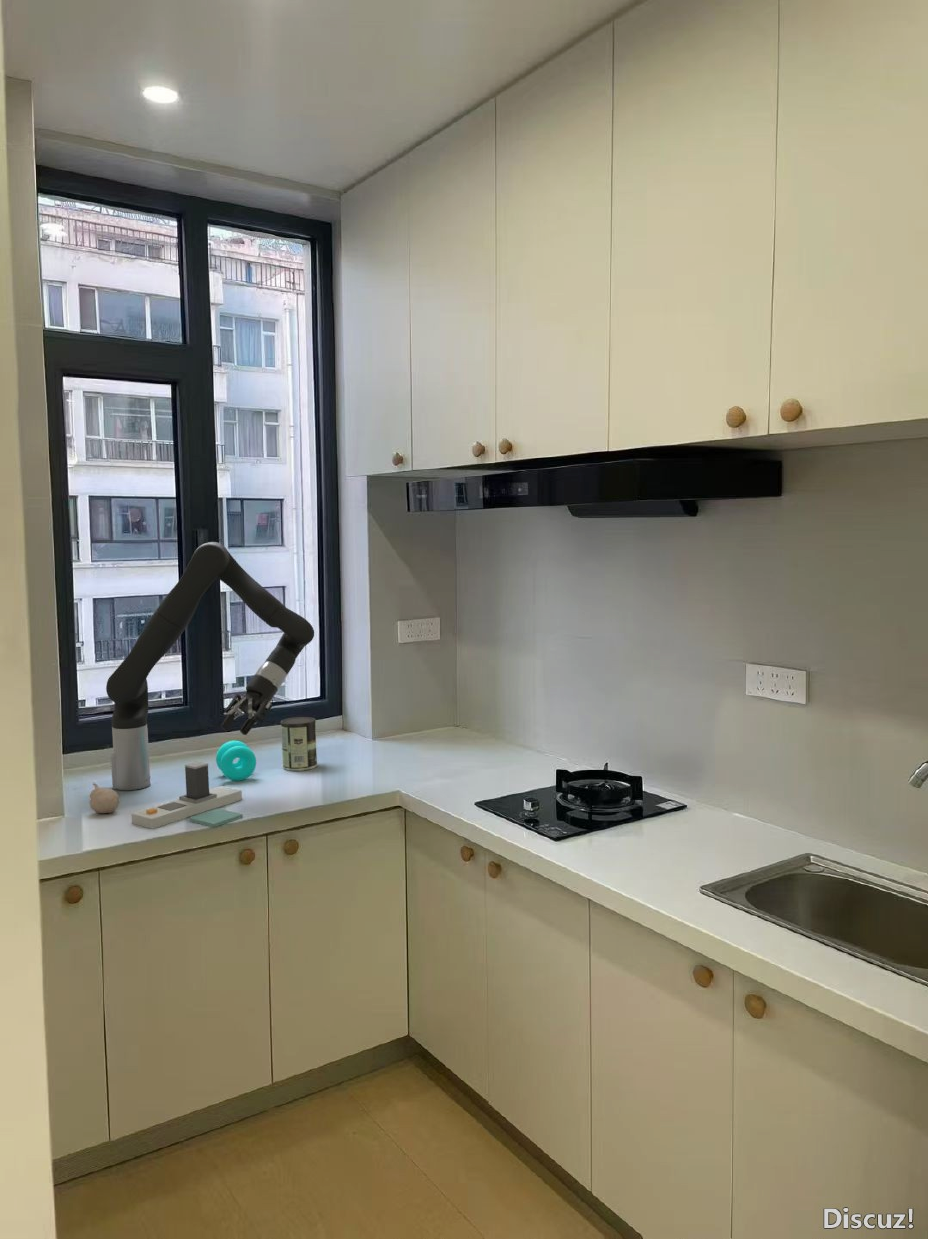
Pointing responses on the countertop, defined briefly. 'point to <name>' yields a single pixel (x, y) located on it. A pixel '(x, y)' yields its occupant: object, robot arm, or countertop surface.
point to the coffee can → (299, 743)
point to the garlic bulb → (104, 800)
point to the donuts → (239, 768)
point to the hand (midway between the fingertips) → (232, 731)
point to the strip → (185, 807)
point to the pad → (216, 817)
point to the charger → (197, 780)
